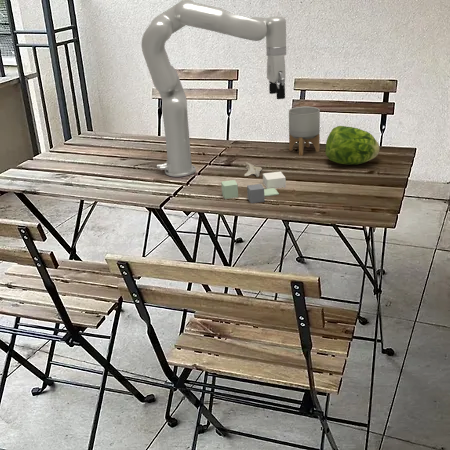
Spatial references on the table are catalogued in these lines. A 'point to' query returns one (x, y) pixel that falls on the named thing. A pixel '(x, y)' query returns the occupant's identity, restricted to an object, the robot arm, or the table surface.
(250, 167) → the fossil
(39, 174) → the table surface
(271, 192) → the swatch
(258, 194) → the gray cube
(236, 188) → the sage cube
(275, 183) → the base block
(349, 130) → the green rounded lump
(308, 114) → the planter
